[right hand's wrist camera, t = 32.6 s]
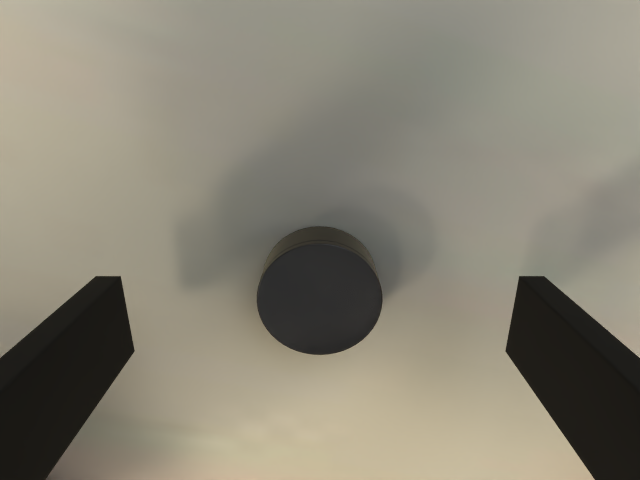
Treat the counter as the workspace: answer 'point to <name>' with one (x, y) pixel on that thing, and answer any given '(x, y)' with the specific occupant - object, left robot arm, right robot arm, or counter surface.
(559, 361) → the right robot arm
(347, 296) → the cap
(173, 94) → the counter surface
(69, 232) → the counter surface
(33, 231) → the counter surface
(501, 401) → the counter surface
